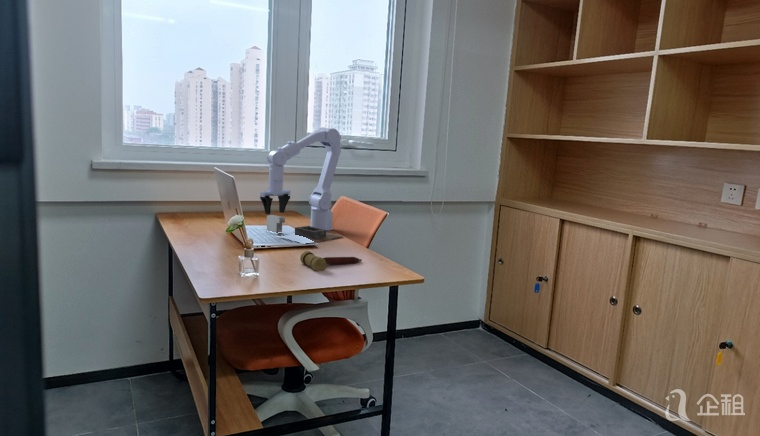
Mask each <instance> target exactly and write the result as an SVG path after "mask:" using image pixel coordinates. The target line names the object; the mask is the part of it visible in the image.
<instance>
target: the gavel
mask: <svg viewBox="0 0 760 436" xmlns="http://www.w3.org/2000/svg"><path fill="white" fill-rule="evenodd" d="M299 258H300V263H302V264H303V265H305V266H308V267H310V268H311V269H312V270H314V271H315V272H321V271H324V270H325V269H326V268H327V266H335V265H336V266H337V265H339V266H340V265H353V264H354V265H355V264H358V263H360V262H362V261H363V260H362V259H361V258H359V257H355V256H328V257H327V256H326V257H321V256H317V255H315V254H314V253H313V252H311V251H309V250H306V251H304V252H302V254H301V255H300V257H299Z"/></svg>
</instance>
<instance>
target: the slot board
mask: <svg viewBox="0 0 760 436" xmlns="http://www.w3.org/2000/svg"><path fill="white" fill-rule="evenodd" d="M294 233H295V235H299V236H303V237H306V238H308V239H310V240H312V241H314V242H317V243H322V242H328V241H332V240H333V241H334V240H338V239H343V238H344V236H343V235H340V234H336V233H332V232H328V231H327V230H325V229H320V228H316V227H312V226H310V225H304V226H297V227H294Z"/></svg>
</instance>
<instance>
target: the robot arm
mask: <svg viewBox="0 0 760 436" xmlns="http://www.w3.org/2000/svg"><path fill="white" fill-rule="evenodd" d="M341 138H342V135H341V133H340V132H339V131H338V129H336V128H331V127H330V128H327V127H320V128H318V129H315V130H314V131H313V132H311V133H308V134H307V135H306V136H304V137H303V138H301V139H300V140H298V141H297V142H296V141H289V140H288V141H287V142H286V144H285V145H283V146H278V147H277V150H275V149H274V150H271V151H270V152H269V153H268V154H267V156H266V160H267V163H269V168H268V169H269V170H268V172H269V173H268V189H267V190H264V191H259V199H260V200H261V203H262V205H263V208H264V209H263V210H264V213H265V214H266V215H271V211H272V210H271V208H272V207H271V206H272V203H273V199H274V198H273V197H276V196H277V199H278V210H279V213H283V214H284V213H285V211H286V207H287V205H288V202H289V201H290V199H291V190H289V189H284V171H285V169H284V167H285V164H286V163H287V161H289V160H290V159H292V158H294V157H296V156H298V155H299V154H300V153H301V150H303V149H304V148H306V147H308V146H310V145H313V144H315V143H317V142H319V143H320V144H321V145H323V147H324V148H325V150H326V151H327V152H326V156H325V159H324V162H323V166H322V170H321V173H320V176H319V180H318V184H317V185H316V187H314V189H313V190H312V193H311V195H309V197H308V203H309V205H310V224H309V226H312V227H316V228H320V229H325V230H327V231H326V232H328V231H334V228H333V212H332V210H331V209H330V208H331V205H332V192H331V190H330V189H331V187H332V183H333V179H334V176H335V173H336V170H337V165H338V162H339V158H340V155H341V151H342V148H341V147H342V145H341ZM265 214H264V215H265Z"/></svg>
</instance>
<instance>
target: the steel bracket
mask: <svg viewBox="0 0 760 436" xmlns="http://www.w3.org/2000/svg"><path fill="white" fill-rule="evenodd" d="M285 219H286V217H284V216H280V215H275V214H266V231H267V230H268V231H272V232H276V233H278V232H282V233H283V224H284V223H286V220H285Z"/></svg>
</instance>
